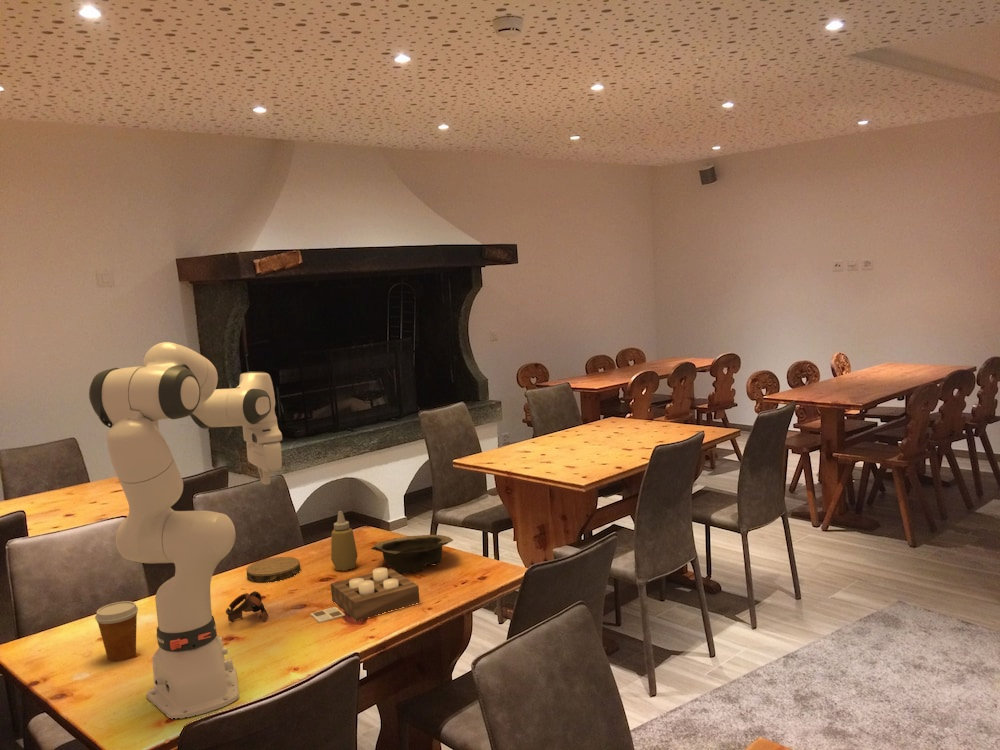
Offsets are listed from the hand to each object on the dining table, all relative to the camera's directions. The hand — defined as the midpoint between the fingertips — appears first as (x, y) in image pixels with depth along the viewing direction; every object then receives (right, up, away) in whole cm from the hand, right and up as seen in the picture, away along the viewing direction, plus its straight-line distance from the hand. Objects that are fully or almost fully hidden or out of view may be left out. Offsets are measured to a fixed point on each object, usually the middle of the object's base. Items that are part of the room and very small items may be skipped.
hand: (266, 483), depth 217 cm
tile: (+17, -34, -2) cm, 38 cm away
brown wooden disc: (-7, -33, +35) cm, 49 cm away
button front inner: (+27, -31, 0) cm, 41 cm away
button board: (+28, -33, +5) cm, 44 cm away
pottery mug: (-4, -36, -1) cm, 36 cm away
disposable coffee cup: (-30, -40, -18) cm, 53 cm away
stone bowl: (+36, -30, +35) cm, 58 cm away
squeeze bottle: (+14, -31, +35) cm, 49 cm away
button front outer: (+33, -32, +4) cm, 46 cm away
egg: (+23, -32, +6) cm, 40 cm away
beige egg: (+29, -30, +10) cm, 43 cm away
